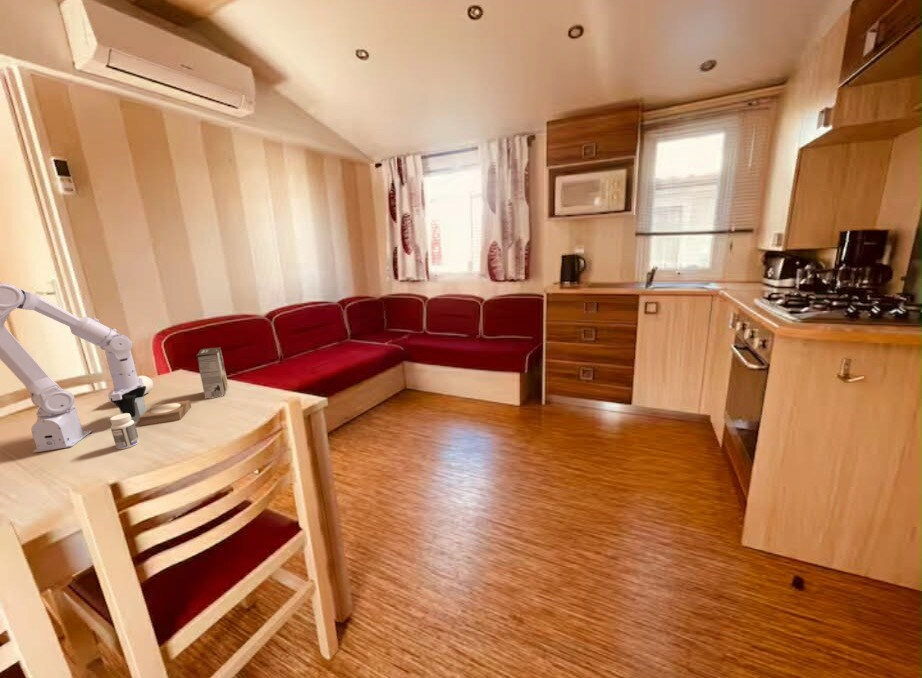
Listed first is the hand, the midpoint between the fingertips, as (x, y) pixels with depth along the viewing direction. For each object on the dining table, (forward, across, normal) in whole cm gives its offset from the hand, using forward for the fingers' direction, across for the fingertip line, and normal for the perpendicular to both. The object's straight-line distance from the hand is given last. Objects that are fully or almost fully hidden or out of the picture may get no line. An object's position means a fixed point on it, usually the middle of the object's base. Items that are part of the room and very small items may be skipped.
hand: (134, 413), depth 116 cm
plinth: (+2, -2, -9) cm, 9 cm away
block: (+2, 0, 0) cm, 2 cm away
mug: (-1, +15, +11) cm, 18 cm away
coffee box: (+2, +14, -19) cm, 24 cm away
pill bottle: (+2, -20, -6) cm, 21 cm away
